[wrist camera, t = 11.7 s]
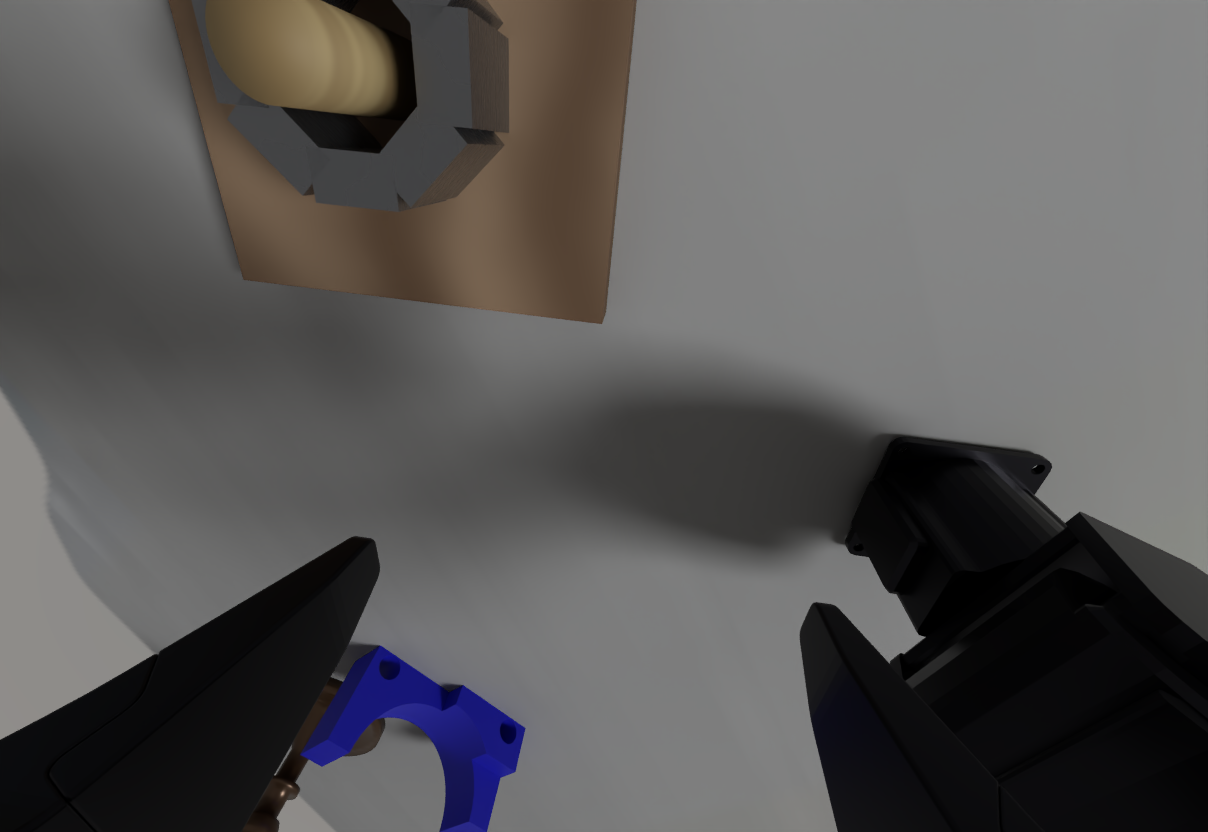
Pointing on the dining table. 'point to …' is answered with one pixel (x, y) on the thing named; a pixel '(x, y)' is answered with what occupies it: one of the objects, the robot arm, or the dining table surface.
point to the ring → (425, 140)
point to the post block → (382, 104)
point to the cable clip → (450, 719)
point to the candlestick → (303, 763)
